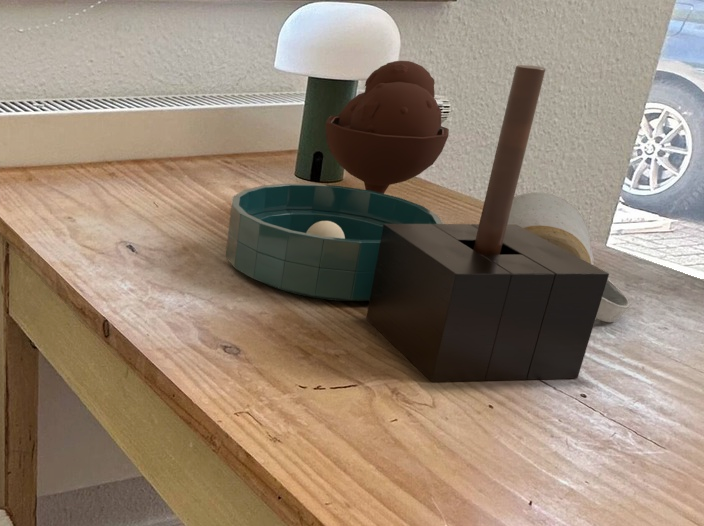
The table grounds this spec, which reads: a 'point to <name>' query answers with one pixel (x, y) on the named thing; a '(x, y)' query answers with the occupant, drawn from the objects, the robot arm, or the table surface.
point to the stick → (508, 158)
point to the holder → (483, 303)
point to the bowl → (314, 237)
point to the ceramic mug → (565, 239)
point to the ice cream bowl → (389, 127)
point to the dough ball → (326, 229)
